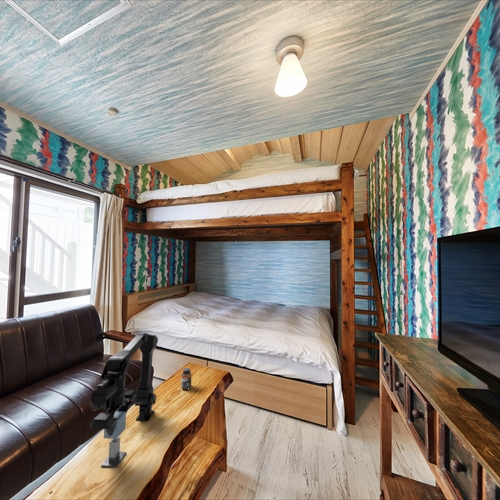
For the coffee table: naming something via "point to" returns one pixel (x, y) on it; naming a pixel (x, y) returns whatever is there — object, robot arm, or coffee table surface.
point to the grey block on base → (117, 425)
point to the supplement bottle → (186, 378)
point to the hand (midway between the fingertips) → (115, 429)
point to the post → (114, 454)
